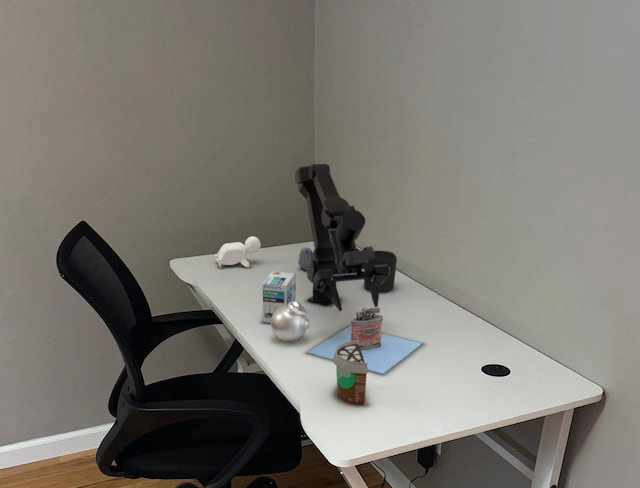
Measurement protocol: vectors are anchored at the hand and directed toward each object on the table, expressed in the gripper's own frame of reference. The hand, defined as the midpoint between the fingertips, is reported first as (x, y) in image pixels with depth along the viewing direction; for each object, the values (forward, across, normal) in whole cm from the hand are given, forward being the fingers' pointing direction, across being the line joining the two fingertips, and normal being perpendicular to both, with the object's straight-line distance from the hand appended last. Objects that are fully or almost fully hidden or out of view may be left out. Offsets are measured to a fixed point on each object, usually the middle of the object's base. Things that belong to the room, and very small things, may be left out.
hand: (358, 308), depth 169 cm
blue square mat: (+10, 0, +2) cm, 10 cm away
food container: (+25, -12, -13) cm, 30 cm away
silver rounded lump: (+3, -16, +9) cm, 19 cm away
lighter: (+10, 0, +2) cm, 10 cm away
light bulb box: (-8, -15, +20) cm, 26 cm away
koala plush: (-32, +12, +44) cm, 56 cm away
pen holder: (-18, +19, +30) cm, 40 cm away
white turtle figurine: (-41, -16, +54) cm, 69 cm away
